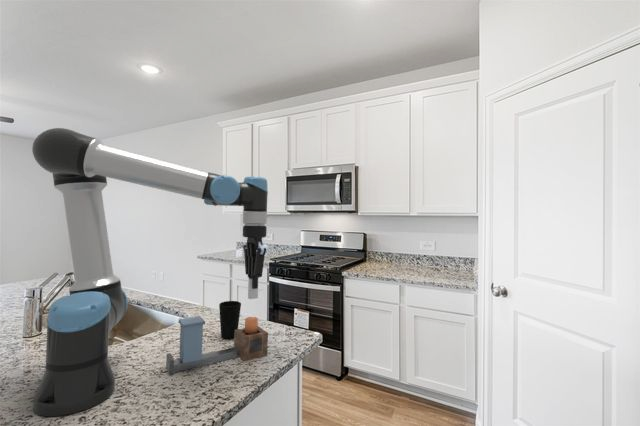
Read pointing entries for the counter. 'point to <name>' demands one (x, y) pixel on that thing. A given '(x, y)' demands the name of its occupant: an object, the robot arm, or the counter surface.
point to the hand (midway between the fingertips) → (252, 298)
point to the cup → (229, 318)
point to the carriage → (191, 339)
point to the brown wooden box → (251, 343)
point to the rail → (206, 359)
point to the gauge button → (251, 325)
